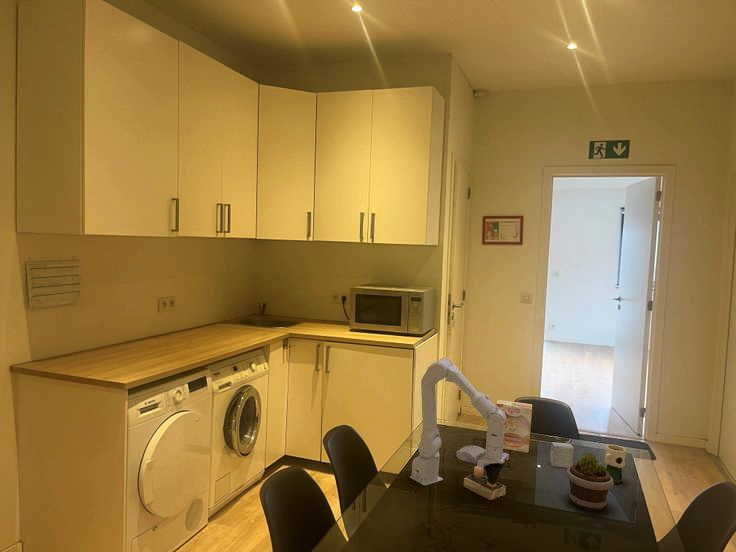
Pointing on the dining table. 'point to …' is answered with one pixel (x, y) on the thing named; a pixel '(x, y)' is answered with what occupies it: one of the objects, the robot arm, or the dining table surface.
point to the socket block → (484, 487)
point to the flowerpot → (589, 483)
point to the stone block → (471, 454)
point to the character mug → (615, 461)
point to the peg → (478, 472)
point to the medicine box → (561, 455)
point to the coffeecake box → (516, 425)
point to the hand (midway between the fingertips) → (491, 483)
